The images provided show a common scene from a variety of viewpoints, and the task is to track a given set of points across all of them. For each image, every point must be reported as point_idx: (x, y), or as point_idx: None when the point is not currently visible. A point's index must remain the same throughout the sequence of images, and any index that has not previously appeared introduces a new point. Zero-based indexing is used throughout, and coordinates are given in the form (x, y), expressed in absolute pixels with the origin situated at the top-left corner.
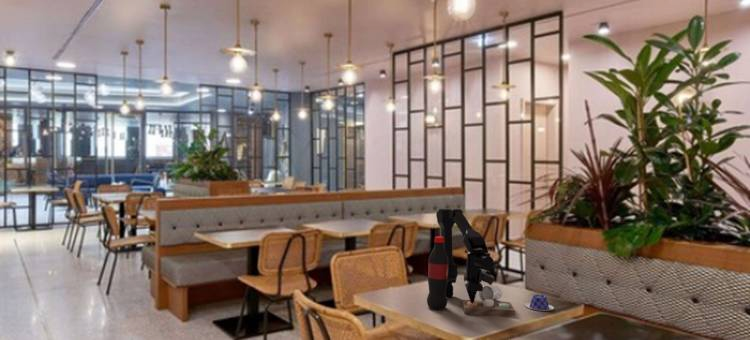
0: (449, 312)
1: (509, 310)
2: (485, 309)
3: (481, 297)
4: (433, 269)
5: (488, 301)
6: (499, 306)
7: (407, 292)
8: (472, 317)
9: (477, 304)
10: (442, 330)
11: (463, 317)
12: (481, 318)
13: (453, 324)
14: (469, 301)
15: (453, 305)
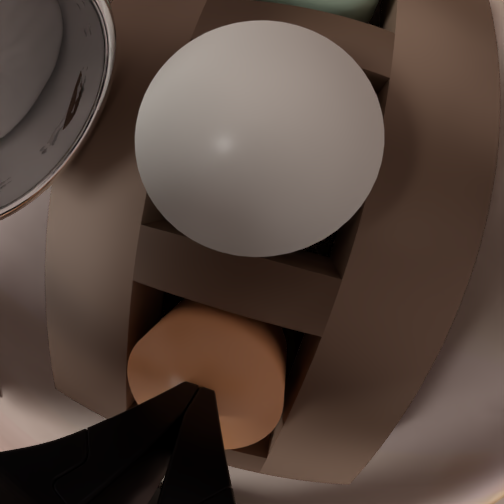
0: (284, 500)
1: (489, 6)
2: (462, 280)
3: (3, 172)
4: None
5: (308, 137)
6: (340, 3)
7: (4, 449)
8: (449, 403)
9: (240, 331)
10: (498, 500)
11: (421, 455)
12: (494, 336)
13: (480, 485)
14: (138, 398)
15: (102, 418)
